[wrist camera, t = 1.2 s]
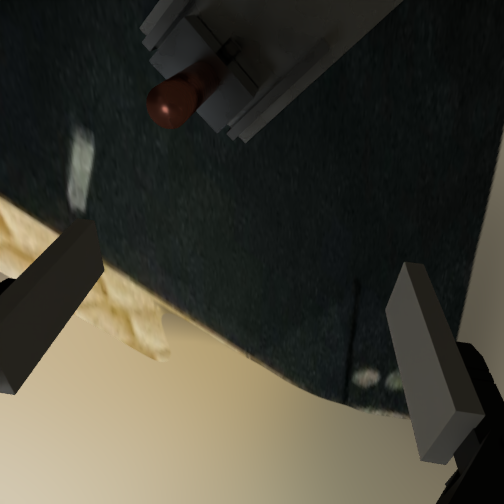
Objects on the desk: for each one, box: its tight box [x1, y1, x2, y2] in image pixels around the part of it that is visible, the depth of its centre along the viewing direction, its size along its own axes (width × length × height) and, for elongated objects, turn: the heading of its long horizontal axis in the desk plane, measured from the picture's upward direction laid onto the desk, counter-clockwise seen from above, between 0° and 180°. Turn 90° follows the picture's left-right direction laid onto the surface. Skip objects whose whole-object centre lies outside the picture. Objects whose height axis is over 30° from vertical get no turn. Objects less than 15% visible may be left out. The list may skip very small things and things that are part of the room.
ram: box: [147, 15, 259, 134], centre depth 25 cm, size 7×5×11 cm
